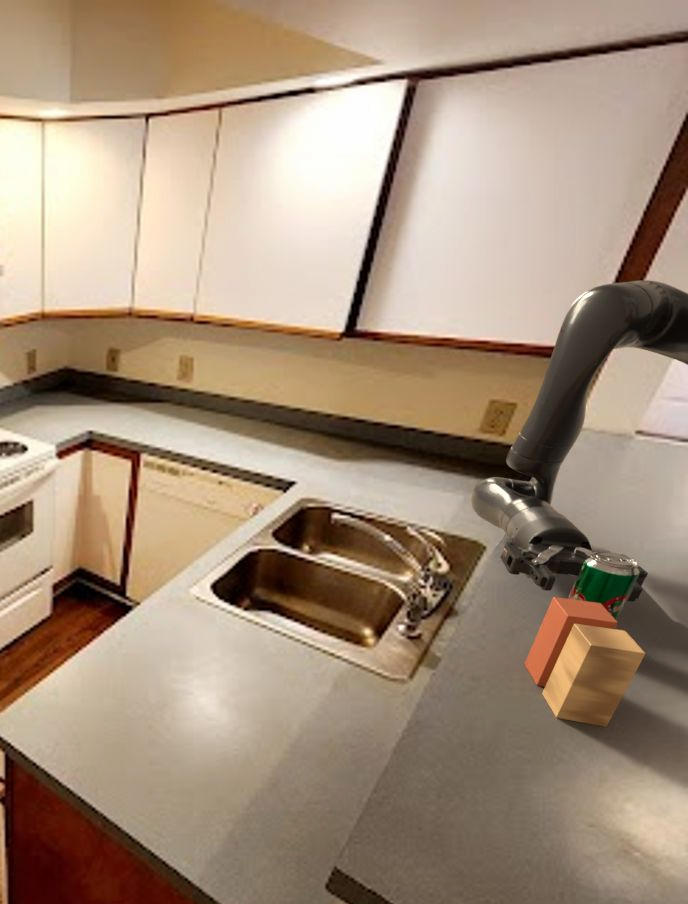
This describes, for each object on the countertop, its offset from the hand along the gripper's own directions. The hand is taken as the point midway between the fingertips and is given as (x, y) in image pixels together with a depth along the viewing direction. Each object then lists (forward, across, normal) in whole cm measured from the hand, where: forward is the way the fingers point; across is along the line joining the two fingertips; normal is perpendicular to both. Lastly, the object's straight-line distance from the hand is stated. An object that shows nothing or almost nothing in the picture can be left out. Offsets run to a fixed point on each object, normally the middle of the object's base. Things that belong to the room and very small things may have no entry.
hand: (591, 589), depth 81 cm
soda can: (+2, 0, +7) cm, 7 cm away
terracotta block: (+13, -6, +6) cm, 16 cm away
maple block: (+19, -6, +6) cm, 21 cm away
